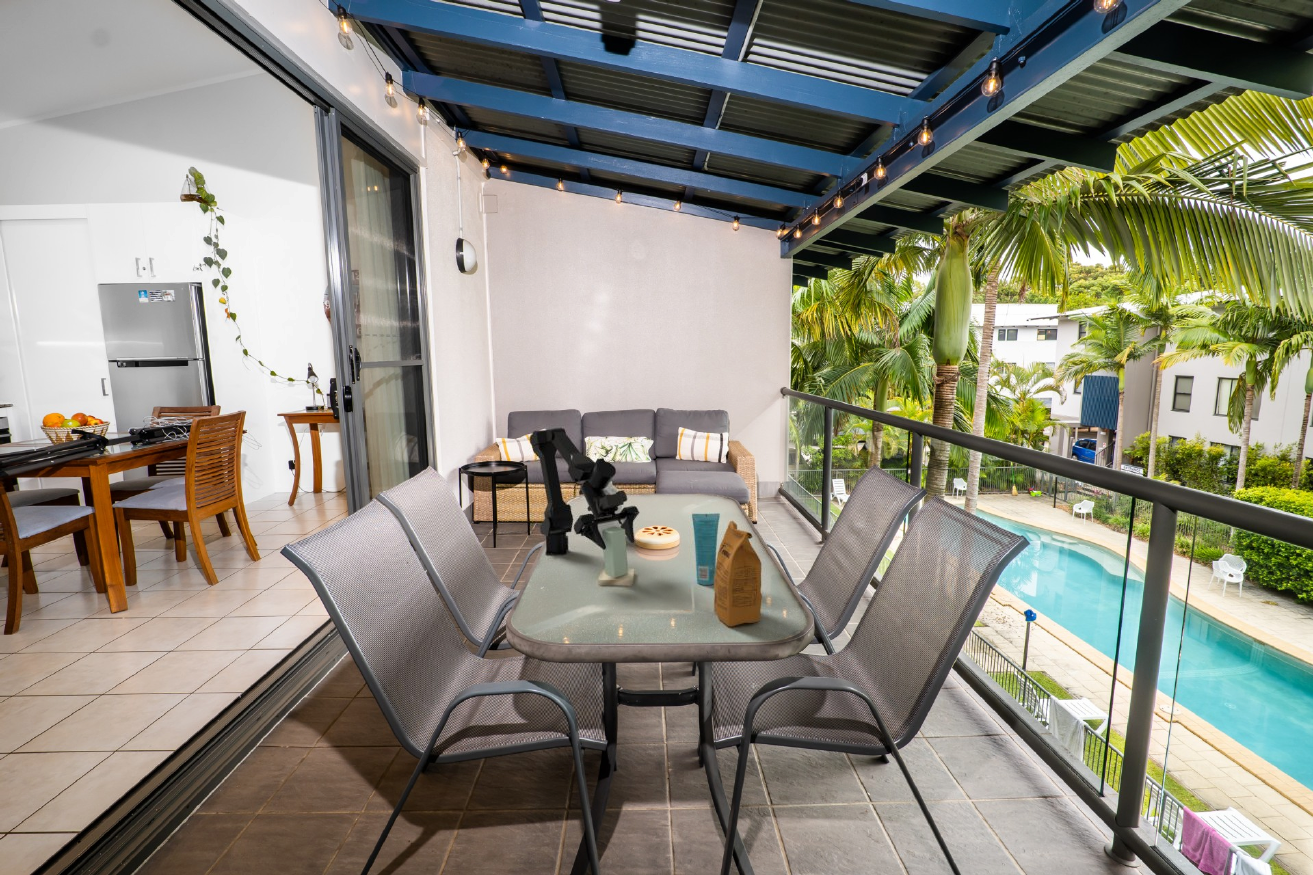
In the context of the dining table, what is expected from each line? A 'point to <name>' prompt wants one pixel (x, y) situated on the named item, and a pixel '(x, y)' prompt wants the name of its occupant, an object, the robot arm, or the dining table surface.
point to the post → (615, 552)
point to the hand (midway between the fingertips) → (619, 545)
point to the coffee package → (737, 579)
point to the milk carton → (612, 490)
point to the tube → (705, 546)
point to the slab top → (621, 580)
